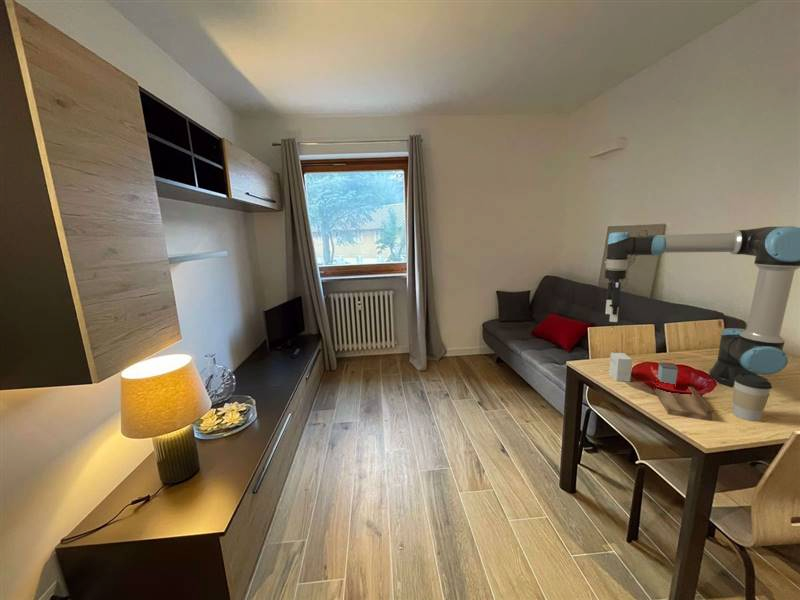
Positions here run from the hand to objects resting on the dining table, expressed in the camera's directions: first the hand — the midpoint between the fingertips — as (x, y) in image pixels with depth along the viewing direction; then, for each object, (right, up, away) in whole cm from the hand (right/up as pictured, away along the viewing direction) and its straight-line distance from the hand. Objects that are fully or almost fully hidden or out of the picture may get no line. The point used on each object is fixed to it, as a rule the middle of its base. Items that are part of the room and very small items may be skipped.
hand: (610, 317), depth 145 cm
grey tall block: (+19, -29, -6) cm, 35 cm away
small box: (+6, -27, +4) cm, 28 cm away
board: (+13, -32, -20) cm, 40 cm away
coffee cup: (+29, -33, -28) cm, 53 cm away
